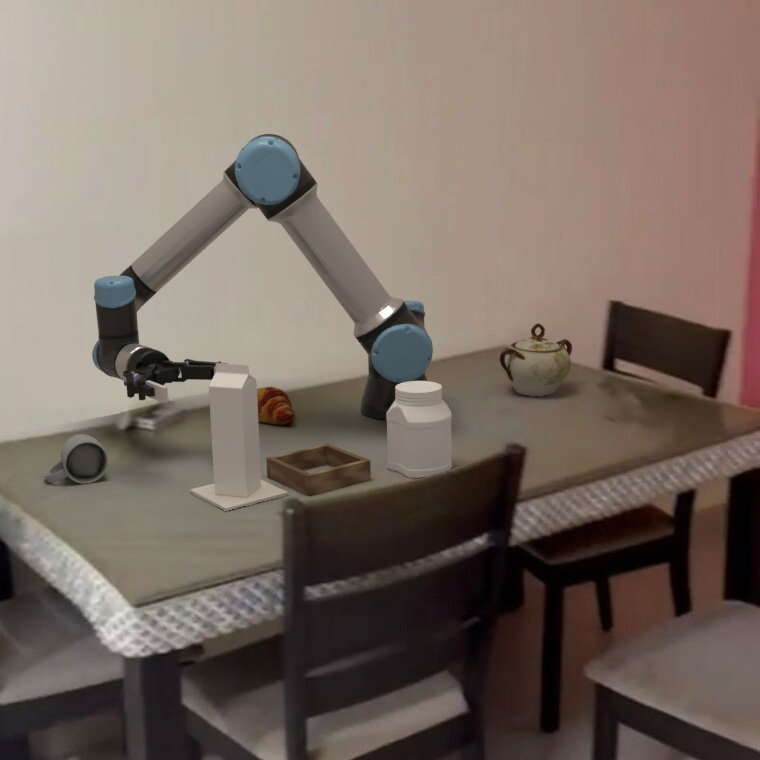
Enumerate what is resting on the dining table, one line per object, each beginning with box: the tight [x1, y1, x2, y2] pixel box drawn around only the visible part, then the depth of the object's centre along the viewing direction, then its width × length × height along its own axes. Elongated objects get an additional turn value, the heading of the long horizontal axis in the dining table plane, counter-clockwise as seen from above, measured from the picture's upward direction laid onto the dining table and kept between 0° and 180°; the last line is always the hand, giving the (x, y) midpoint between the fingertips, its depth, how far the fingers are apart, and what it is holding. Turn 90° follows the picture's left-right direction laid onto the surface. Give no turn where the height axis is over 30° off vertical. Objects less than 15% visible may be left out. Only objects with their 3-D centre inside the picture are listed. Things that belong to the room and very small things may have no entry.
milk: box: [208, 362, 262, 498], centre depth 208 cm, size 6×6×22 cm
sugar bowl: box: [499, 323, 573, 397], centre depth 270 cm, size 20×15×15 cm
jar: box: [386, 380, 453, 479], centre depth 221 cm, size 12×10×15 cm
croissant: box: [257, 386, 295, 425], centre depth 256 cm, size 21×10×8 cm, turn 35°
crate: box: [266, 443, 372, 497], centre depth 218 cm, size 13×13×4 cm
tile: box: [189, 479, 289, 512], centre depth 211 cm, size 12×12×1 cm
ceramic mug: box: [44, 434, 109, 485], centre depth 220 cm, size 11×8×8 cm
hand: (201, 387), depth 216 cm, fingers open, 13 cm apart
